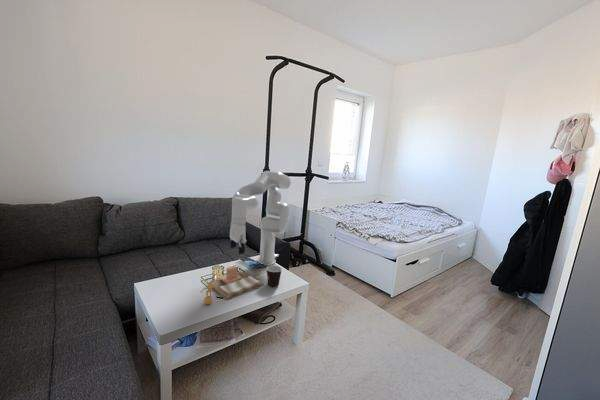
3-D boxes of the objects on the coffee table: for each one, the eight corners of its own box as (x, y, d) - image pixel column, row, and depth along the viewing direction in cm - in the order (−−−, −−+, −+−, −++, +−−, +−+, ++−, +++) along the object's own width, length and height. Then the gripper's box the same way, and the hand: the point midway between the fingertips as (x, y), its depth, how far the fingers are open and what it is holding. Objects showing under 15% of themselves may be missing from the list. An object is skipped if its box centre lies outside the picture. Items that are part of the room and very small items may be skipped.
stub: (235, 274, 164) (235, 263, 163) (242, 278, 160) (242, 267, 158) (220, 279, 157) (220, 268, 156) (227, 284, 152) (227, 272, 151)
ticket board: (244, 273, 170) (244, 269, 170) (263, 285, 158) (263, 281, 158) (208, 285, 153) (208, 281, 152) (226, 300, 141) (226, 295, 140)
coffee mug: (279, 289, 156) (281, 272, 154) (264, 287, 156) (265, 271, 154) (281, 279, 167) (282, 263, 165) (267, 277, 167) (268, 262, 165)
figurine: (215, 299, 140) (216, 278, 138) (218, 306, 135) (219, 283, 133) (198, 303, 136) (198, 280, 134) (200, 309, 131) (200, 286, 129)
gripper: (225, 216, 152) (224, 246, 155) (239, 225, 139) (238, 257, 142) (237, 215, 157) (236, 244, 160) (252, 223, 144) (251, 254, 147)
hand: (237, 250), depth 151 cm, fingers open, 9 cm apart
